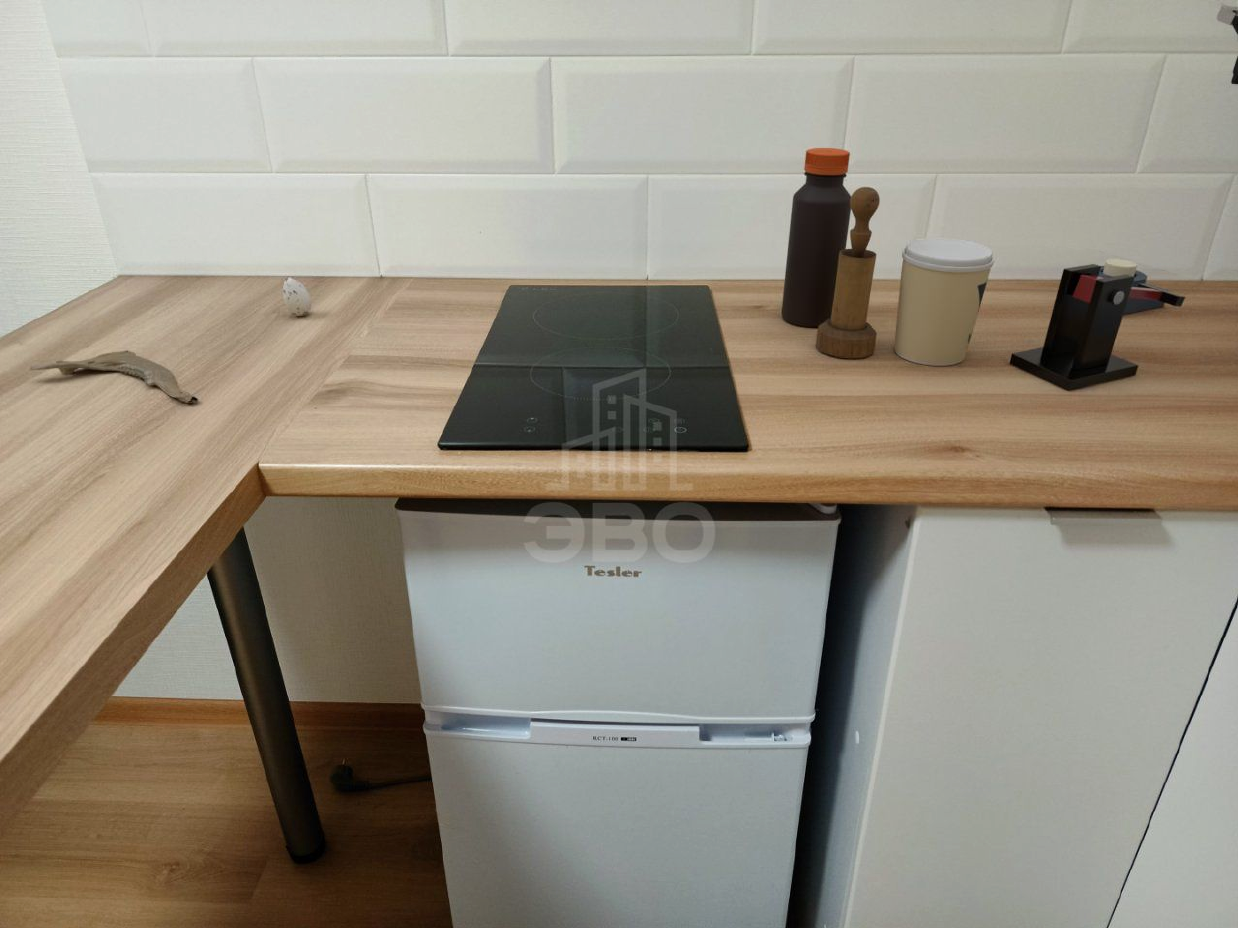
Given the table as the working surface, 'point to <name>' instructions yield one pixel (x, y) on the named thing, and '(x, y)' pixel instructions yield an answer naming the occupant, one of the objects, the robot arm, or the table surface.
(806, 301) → the bottle
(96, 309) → the table surface
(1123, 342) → the table surface
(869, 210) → the mortar and pestle
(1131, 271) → the button
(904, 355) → the coffee cup
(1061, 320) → the black stand
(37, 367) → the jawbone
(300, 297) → the egg
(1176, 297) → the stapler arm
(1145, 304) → the button box
